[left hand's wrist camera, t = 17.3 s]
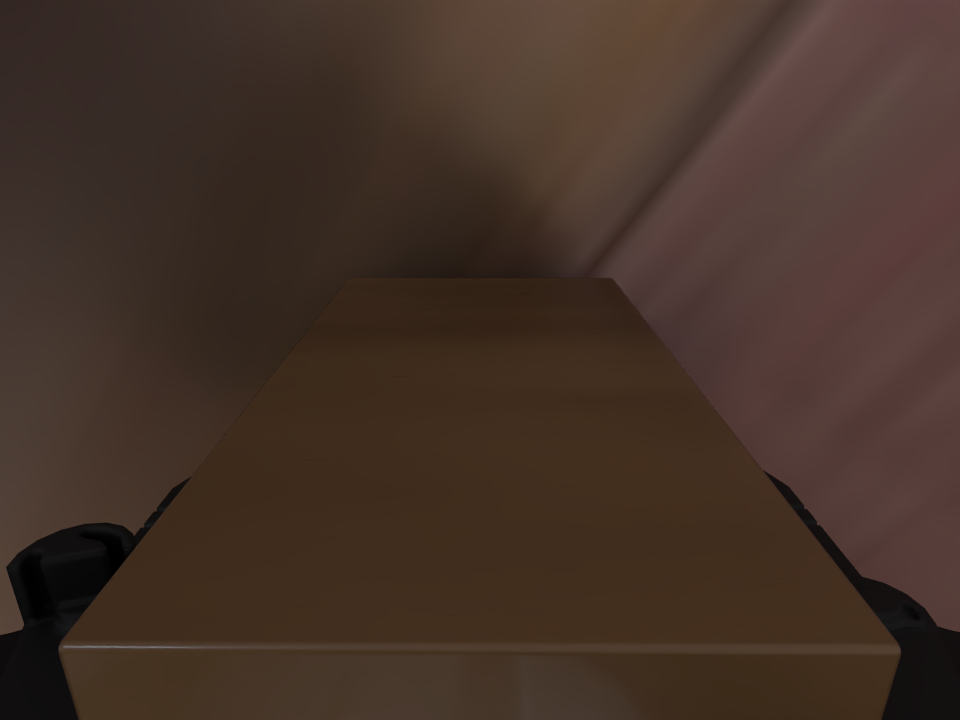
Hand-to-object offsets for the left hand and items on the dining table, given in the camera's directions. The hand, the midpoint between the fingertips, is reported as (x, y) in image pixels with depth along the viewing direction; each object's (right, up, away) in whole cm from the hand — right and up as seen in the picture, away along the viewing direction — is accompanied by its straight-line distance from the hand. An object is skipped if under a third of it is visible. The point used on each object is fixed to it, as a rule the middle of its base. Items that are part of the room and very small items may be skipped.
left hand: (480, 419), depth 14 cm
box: (0, -9, +5) cm, 10 cm away
